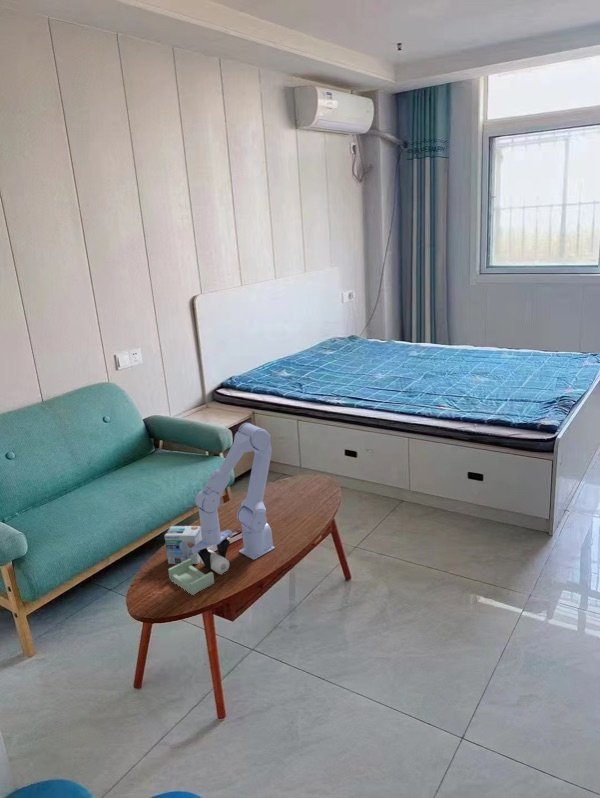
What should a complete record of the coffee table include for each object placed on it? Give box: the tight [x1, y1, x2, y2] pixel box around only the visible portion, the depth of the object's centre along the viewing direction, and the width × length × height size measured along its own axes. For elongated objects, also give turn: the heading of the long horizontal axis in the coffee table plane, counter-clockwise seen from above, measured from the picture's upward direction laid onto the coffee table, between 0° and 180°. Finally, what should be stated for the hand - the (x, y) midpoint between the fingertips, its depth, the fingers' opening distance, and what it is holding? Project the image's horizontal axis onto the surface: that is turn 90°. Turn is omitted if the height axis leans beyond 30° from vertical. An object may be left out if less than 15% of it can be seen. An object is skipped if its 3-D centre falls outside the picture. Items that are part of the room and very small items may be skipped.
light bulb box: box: [164, 525, 203, 565], centre depth 195 cm, size 11×7×11 cm, turn 82°
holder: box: [167, 558, 215, 596], centre depth 182 cm, size 13×8×4 cm, turn 44°
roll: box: [200, 548, 230, 575], centre depth 189 cm, size 9×5×5 cm, turn 44°
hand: (215, 564), depth 189 cm, fingers closed on roll, 5 cm apart
